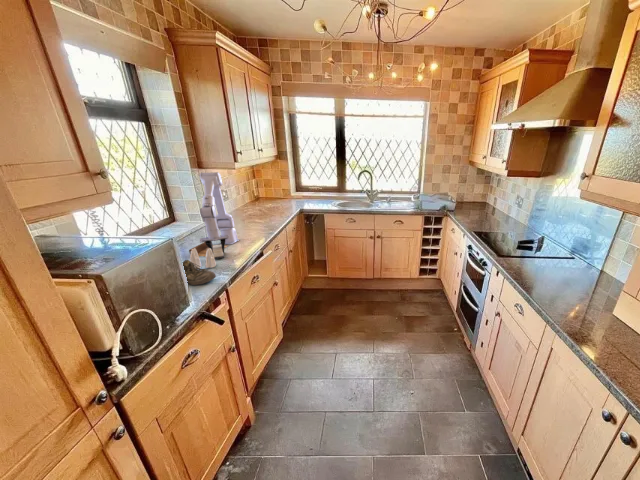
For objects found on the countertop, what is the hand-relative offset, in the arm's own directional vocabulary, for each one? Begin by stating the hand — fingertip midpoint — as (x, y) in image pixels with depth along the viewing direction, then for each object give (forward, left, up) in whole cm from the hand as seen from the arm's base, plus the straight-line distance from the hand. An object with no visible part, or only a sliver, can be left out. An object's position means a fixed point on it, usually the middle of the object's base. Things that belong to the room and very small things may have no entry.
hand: (218, 253), depth 173 cm
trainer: (0, 0, -1) cm, 1 cm away
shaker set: (+18, +2, -2) cm, 18 cm away
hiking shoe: (+34, +7, -2) cm, 35 cm away
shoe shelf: (-10, -11, -2) cm, 15 cm away
